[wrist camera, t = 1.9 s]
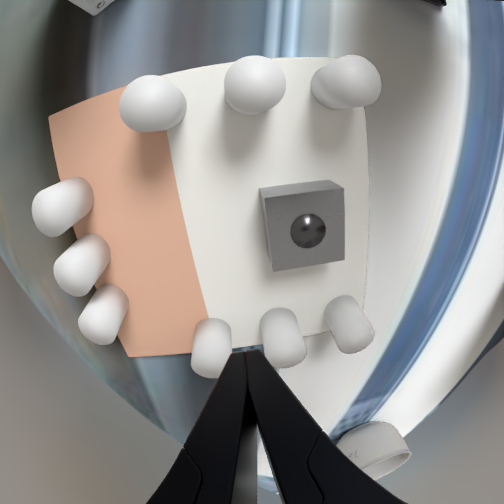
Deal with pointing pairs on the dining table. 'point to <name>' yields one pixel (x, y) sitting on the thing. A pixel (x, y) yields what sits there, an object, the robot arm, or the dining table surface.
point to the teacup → (375, 448)
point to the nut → (304, 224)
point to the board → (211, 207)
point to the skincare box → (92, 5)
